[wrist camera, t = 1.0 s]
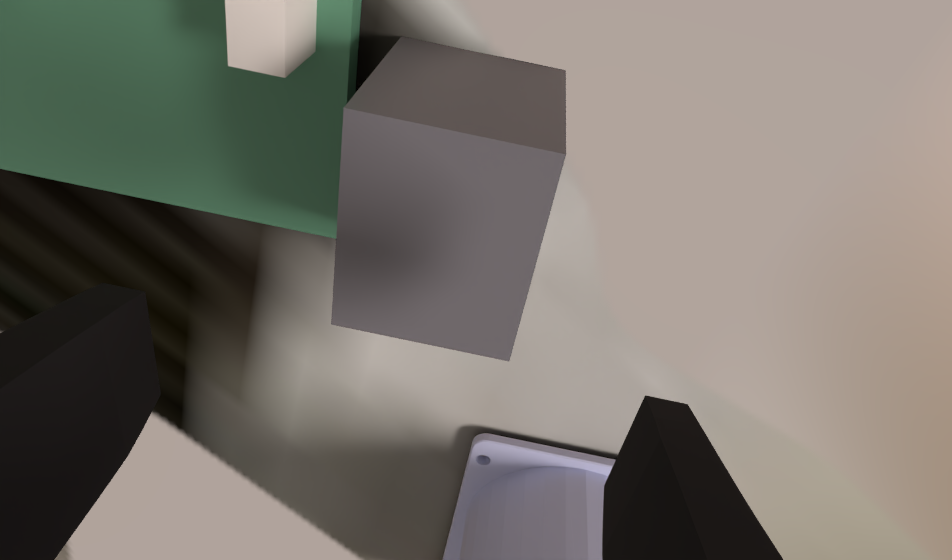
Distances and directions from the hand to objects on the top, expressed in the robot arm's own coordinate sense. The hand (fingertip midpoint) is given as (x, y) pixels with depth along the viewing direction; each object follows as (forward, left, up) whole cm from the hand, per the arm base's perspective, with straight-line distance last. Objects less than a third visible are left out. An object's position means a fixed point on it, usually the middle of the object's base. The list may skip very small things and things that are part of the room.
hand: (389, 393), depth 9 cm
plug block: (0, 0, -9) cm, 9 cm away
